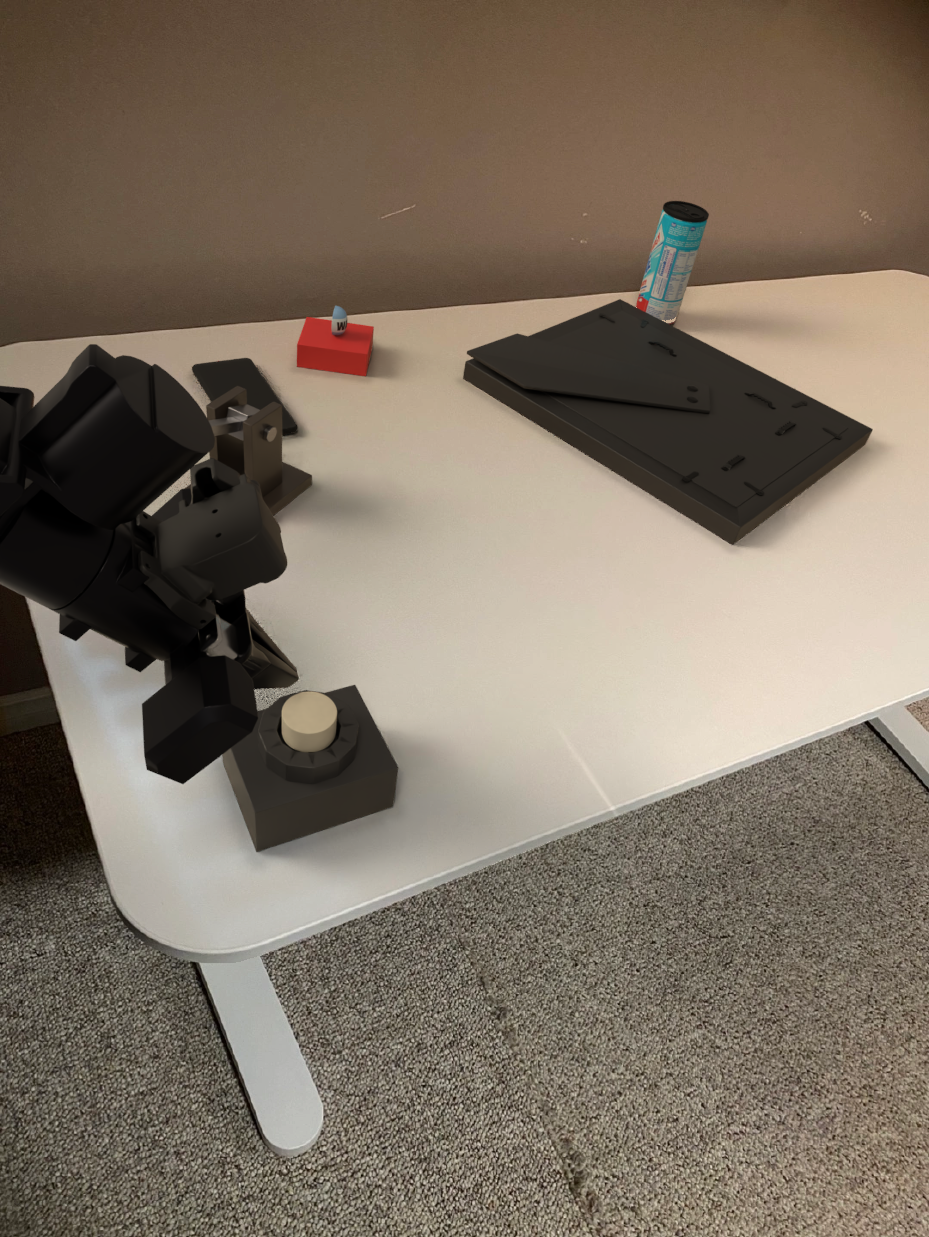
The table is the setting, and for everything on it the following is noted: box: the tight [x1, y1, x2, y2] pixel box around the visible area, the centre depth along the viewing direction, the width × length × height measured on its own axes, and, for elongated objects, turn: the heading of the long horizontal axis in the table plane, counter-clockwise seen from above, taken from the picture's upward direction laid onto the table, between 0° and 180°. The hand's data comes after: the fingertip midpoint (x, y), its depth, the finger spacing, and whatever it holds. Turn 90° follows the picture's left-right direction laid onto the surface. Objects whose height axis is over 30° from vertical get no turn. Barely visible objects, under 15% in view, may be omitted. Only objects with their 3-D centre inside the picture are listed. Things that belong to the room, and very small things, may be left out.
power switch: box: [209, 405, 260, 441], centre depth 80 cm, size 13×3×3 cm, turn 151°
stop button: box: [282, 691, 337, 753], centre depth 62 cm, size 4×4×2 cm
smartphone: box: [191, 357, 299, 436], centre depth 100 cm, size 7×1×15 cm
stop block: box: [221, 684, 399, 853], centre depth 65 cm, size 10×8×6 cm
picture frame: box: [462, 298, 873, 545], centre depth 110 cm, size 31×4×38 cm
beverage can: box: [635, 200, 710, 326], centre depth 124 cm, size 6×6×15 cm
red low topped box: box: [296, 305, 375, 377], centre depth 108 cm, size 8×7×6 cm
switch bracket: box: [183, 386, 313, 517], centre depth 86 cm, size 10×8×10 cm
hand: (293, 679), depth 59 cm, fingers closed
